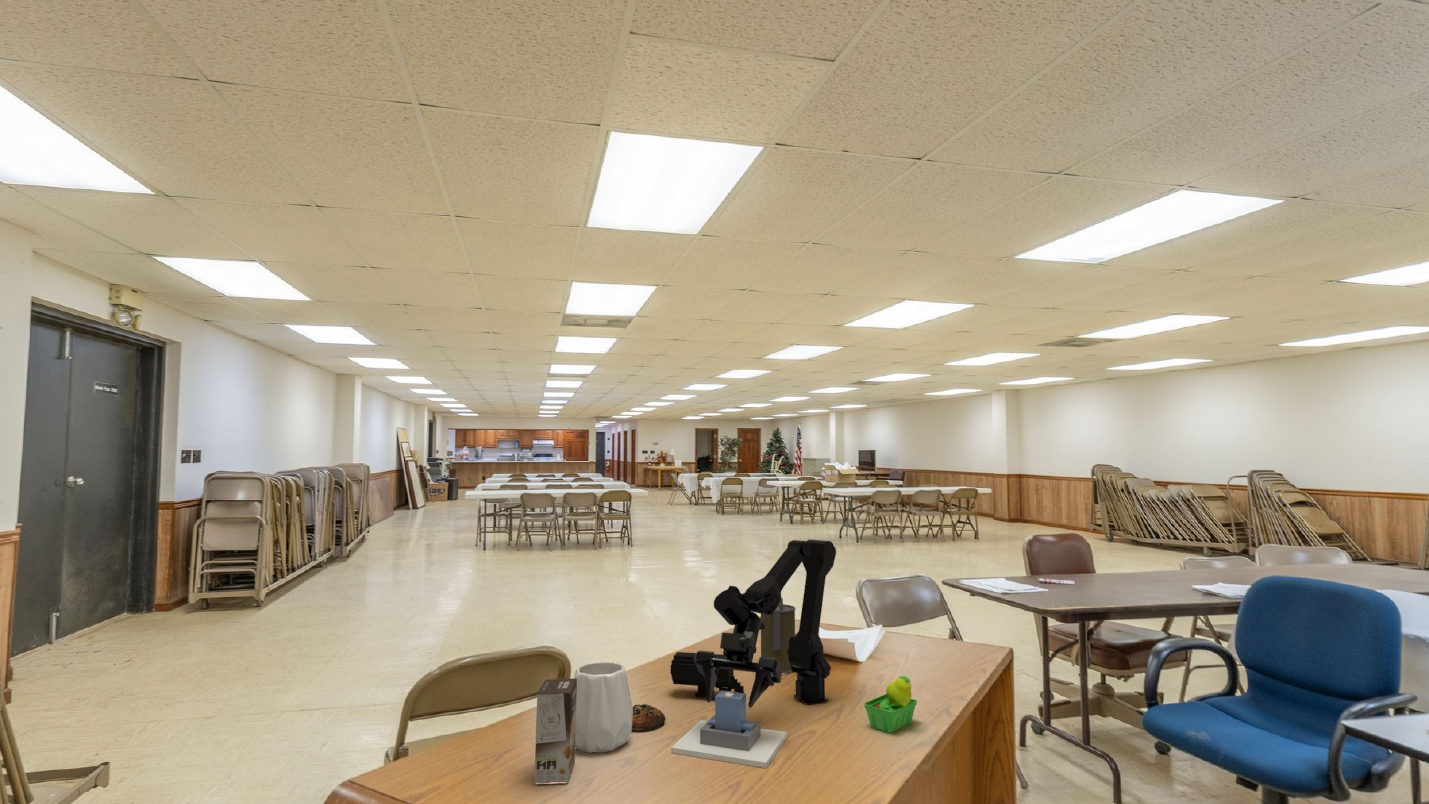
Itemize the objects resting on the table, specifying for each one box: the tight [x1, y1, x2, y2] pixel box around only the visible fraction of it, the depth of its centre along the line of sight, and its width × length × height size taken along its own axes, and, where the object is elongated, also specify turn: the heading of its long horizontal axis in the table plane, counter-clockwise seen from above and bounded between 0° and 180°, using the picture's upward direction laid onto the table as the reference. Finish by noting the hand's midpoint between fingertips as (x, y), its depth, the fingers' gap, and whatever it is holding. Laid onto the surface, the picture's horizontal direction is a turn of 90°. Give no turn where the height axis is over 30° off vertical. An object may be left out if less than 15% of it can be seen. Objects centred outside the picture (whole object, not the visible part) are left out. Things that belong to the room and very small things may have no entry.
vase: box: [573, 661, 633, 754], centre depth 139 cm, size 14×14×15 cm
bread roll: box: [631, 703, 666, 733], centre depth 150 cm, size 11×11×5 cm
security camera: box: [670, 651, 745, 699], centre depth 168 cm, size 7×18×10 cm, turn 78°
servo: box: [707, 691, 754, 733], centre depth 138 cm, size 10×4×10 cm, turn 70°
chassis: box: [670, 715, 788, 769], centre depth 138 cm, size 20×16×4 cm
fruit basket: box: [863, 675, 918, 734], centre depth 148 cm, size 11×9×11 cm
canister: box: [760, 596, 796, 674], centre depth 191 cm, size 11×10×20 cm
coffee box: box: [533, 677, 577, 784], centre depth 125 cm, size 9×6×16 cm
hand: (728, 704), depth 137 cm, fingers open, 9 cm apart
